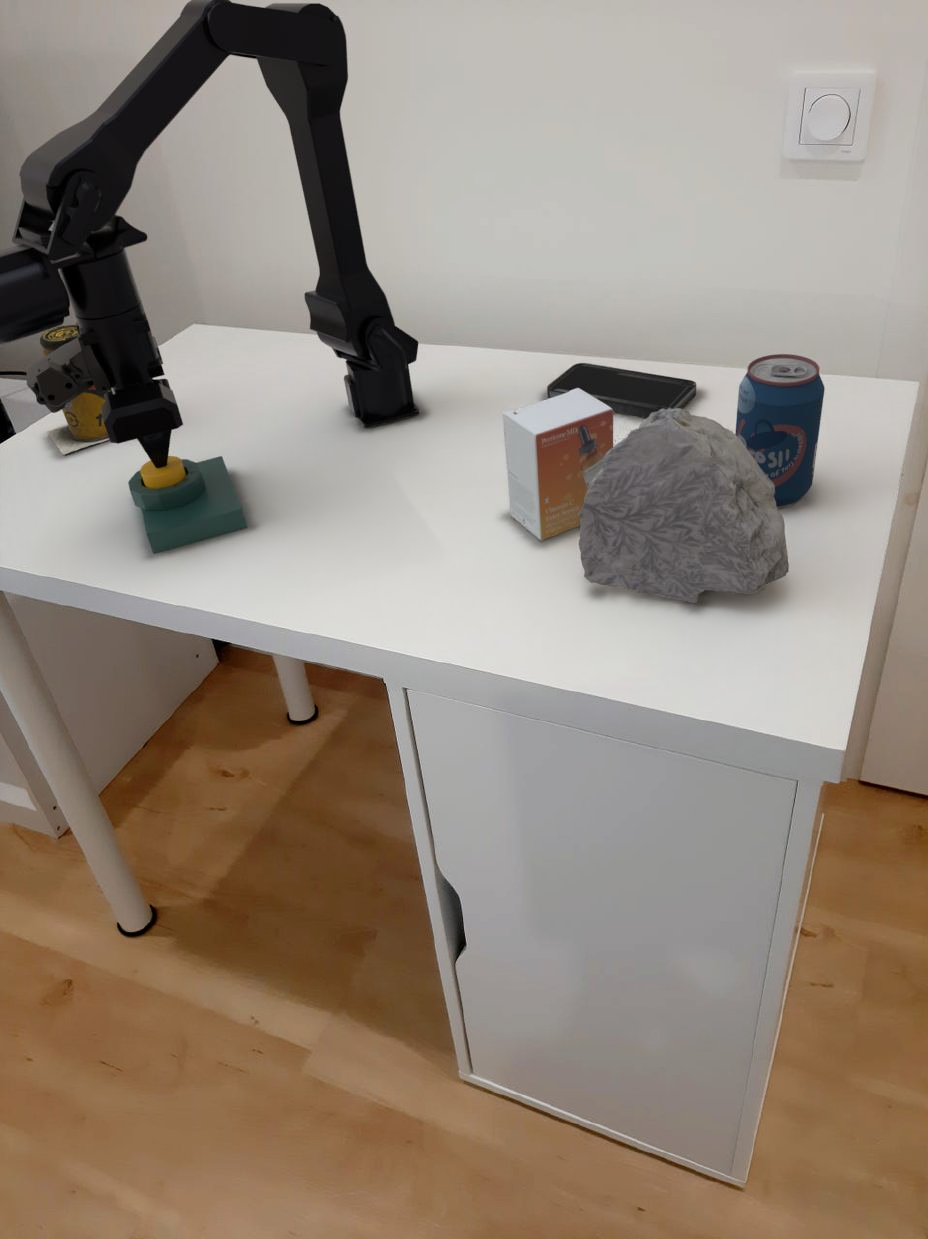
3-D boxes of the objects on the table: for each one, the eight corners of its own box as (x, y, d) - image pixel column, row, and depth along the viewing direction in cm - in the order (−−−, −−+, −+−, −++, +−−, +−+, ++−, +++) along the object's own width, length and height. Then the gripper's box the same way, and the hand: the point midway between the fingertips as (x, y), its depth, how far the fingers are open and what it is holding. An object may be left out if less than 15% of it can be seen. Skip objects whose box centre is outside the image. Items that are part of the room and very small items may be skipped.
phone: (669, 412, 100) (543, 388, 107) (668, 422, 101) (543, 398, 108) (700, 381, 105) (578, 361, 112) (699, 391, 106) (578, 370, 113)
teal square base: (227, 474, 102) (217, 440, 100) (247, 528, 93) (237, 492, 91) (136, 498, 100) (124, 463, 98) (148, 555, 91) (135, 519, 89)
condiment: (135, 431, 113) (101, 331, 106) (63, 456, 110) (23, 354, 102) (116, 411, 118) (83, 314, 111) (47, 434, 115) (7, 336, 107)
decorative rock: (571, 590, 80) (563, 424, 71) (594, 546, 84) (590, 385, 75) (777, 622, 74) (798, 445, 65) (790, 572, 79) (811, 401, 69)
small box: (540, 543, 86) (533, 435, 79) (509, 516, 90) (499, 411, 83) (616, 514, 88) (615, 407, 82) (582, 489, 92) (578, 385, 86)
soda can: (725, 508, 87) (734, 383, 80) (736, 470, 92) (745, 349, 85) (807, 516, 85) (824, 388, 77) (813, 476, 90) (830, 352, 82)
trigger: (183, 467, 97) (178, 451, 96) (189, 485, 94) (184, 469, 93) (143, 478, 96) (138, 462, 95) (147, 496, 93) (142, 480, 92)
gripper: (12, 296, 90) (72, 447, 99) (11, 366, 76) (81, 534, 85) (134, 270, 92) (180, 420, 102) (155, 333, 78) (207, 501, 88)
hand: (161, 465), depth 94 cm, fingers closed, pressing on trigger
